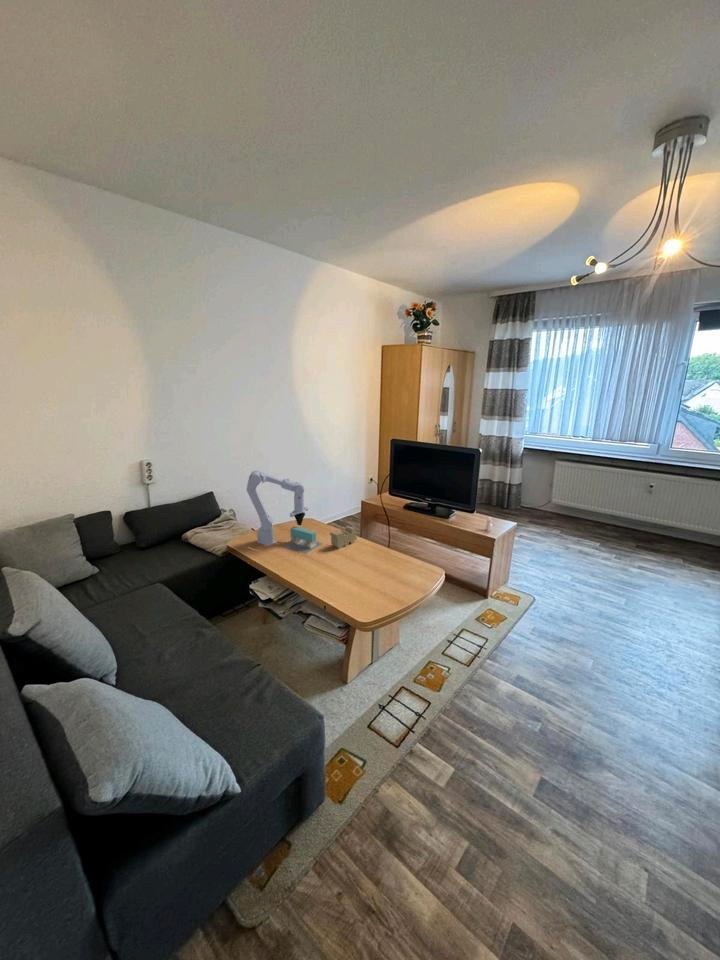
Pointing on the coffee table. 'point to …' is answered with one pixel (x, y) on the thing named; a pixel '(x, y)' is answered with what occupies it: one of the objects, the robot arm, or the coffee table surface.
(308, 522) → the coffee table surface
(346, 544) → the toy train
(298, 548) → the grey flat plate
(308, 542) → the pillar
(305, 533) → the teal beam
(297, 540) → the pillar
